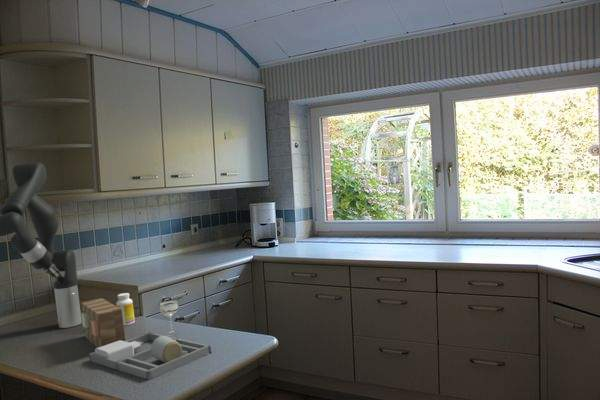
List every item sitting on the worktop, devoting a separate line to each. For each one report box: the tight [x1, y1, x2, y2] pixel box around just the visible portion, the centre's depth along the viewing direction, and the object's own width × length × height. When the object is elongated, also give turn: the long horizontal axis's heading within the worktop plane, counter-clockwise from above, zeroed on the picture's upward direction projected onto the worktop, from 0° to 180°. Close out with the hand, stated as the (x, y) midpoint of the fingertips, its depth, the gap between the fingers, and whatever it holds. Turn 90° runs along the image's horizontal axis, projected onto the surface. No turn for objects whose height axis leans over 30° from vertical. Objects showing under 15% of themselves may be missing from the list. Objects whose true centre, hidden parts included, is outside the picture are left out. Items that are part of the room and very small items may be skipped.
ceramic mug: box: [150, 335, 188, 363], centre depth 165 cm, size 11×8×8 cm
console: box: [80, 297, 126, 348], centre depth 192 cm, size 28×8×14 cm, turn 35°
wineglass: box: [159, 300, 179, 333], centre depth 195 cm, size 7×7×12 cm
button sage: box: [81, 312, 89, 328], centre depth 197 cm, size 5×5×5 cm
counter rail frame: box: [88, 332, 212, 381], centre depth 170 cm, size 35×24×2 cm
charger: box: [94, 340, 144, 361], centre depth 174 cm, size 5×9×15 cm
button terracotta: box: [91, 320, 99, 337], centre depth 184 cm, size 5×5×5 cm
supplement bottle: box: [115, 292, 136, 327], centre depth 215 cm, size 7×7×13 cm
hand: (63, 282), depth 199 cm, fingers closed
